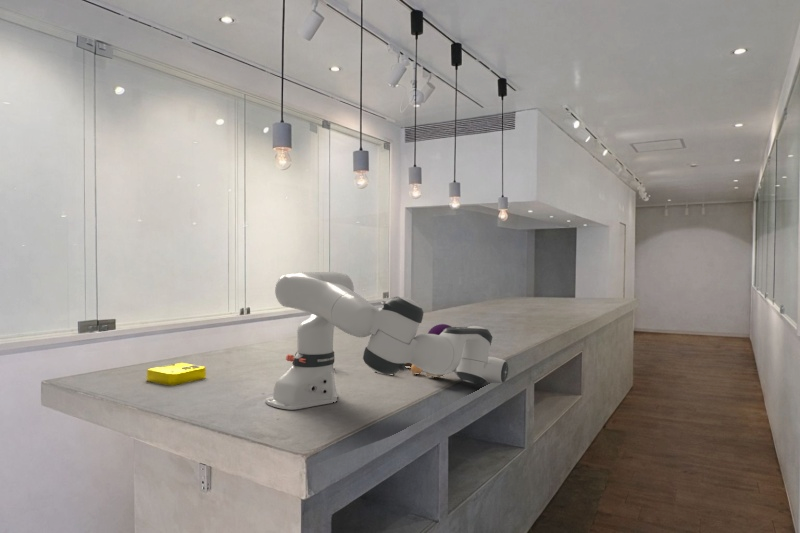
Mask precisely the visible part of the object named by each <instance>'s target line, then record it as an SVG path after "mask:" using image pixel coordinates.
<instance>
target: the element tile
mask: <svg viewBox="0 0 800 533" xmlns="http://www.w3.org/2000/svg"><path fill="white" fill-rule="evenodd" d="M206 374H207V367H206V366H202V365H197V364H190V363H186V362H179V363H178V362H177V363H173V364H172V363H171V364H165V365H161V366H156V367H151V368H148V369H147V370H146V381H147V382H150V381H151V383H155V382H156V383H155V384H159V383H160V385H164V384H165V385H166V386H177V385H183V384H187V383H192V382H197V381H200V380H204V378H205V379H206V378H207V377H206ZM182 383H183V384H182Z"/></svg>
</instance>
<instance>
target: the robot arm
mask: <svg viewBox="0 0 800 533" xmlns="http://www.w3.org/2000/svg"><path fill="white" fill-rule="evenodd" d="M354 287H355V286H354V282H353V280H352V278H351V277H350V276H349V275H348V274H344V273H341V272H336V271H312V272H311V271H310V272H308V271H307V272H306V271H305V272H303V271H302V272H301V271H300V272H299V271H298V272H297V271H296V272H291V273H287V274H283V275H282V276H280V278H279V279H278V281H277V282H276V284H275V291H274V294H275V298H276V299H277V302H278V303H279V304H280V305H281V306H282V307H284V308H290V309H295V310H299V311H302V312H305V313H308V314H310V315H309V317H308V318H306V319H304V320H303V321H302V322H301V323H300V324H299V326H298V328H297V330H296V333H297V334H296V337H297V338H296V339H297V340H296V342H297V345H296V349H297V350H296V352H295V355H293V354H289V353H288V354H286V356H285V360H286V361H287V362H290V363H291V362H292V364H291V366H290V367H288V369H287V370H286V371H285V372H284V373H283V374H282V375H281V376H279V378H278V379H277V380H276V381H275V383H274V386H273V394H272V396H269V397H266V398H265V402H264V403H265V404H266V405H269V406H271V407H274V408H278V409H282V410H289V411H290V410H291V411H295V410H300V409H306V408H310V407H316V406H322V405H326V404H327V405H328V404H334V403H336V401H337V402H338V397H339V394H338V391H337V387H336V381H335V371H334V363H335V351H334V333H335V327H336V328H338V329H339V330H340V331H342V332H344V333H346V334H348V335H350V336H353V337H356V338H366V337H369V336H370V338H369V340H368V343H367V346H366V347H365V348H364V351H363V356H362V359H363V362H364V363H365V365H366V366H367V367H368V368H369V369H370V370H372V371H373V372H374V373H376V372H377V374H382V375H386V374H393V373H394V374H396V373H398V372H400V371H401V370H402V371H405V370H406V369H407V368H406V367H405V366H404V365H405V364H406V363H411V364H413V365H415V366H416V367H418V368H420V369H421V370H423V371H422V372H425V373H426V372H428V373H432V374H437V375H445V376H446V375H449V374H451V373H453V372H454V373H455V376H456V377H458V378H459V380H460V381H462V382H464V383H467V384H475V385H479V386H482V385H483V384H485V383H487V384H488V383H489V384H503V383H505V382H506V380H507V378H508V374H509V364H508V362H507V361H506V360H505V359H502V358H498V357H495V356H489V354H490V349H491V345H492V341H493V336H492V333H491V332H490V330H489V329H488V328H486V327H483V326H480V325H470V326H451V327H449V328H445V329H444V330H443V331H442V333H441V334H440V335H436V334H428V333H421V334H417V332H418V330H419V326H420V324H422V322H423V319H424V318H423V317H424V310H423V308H421V306H420V305H419V304H418V303H417V302H416V301H415V300H413V299H411V297H406V296H405V297H404V296H393V297H390V298H389V299H387V300H386V301H384V300H382V301H380V304H381V305H382V306H381V307H377V306H375V305H373V304H372V303H371V302H369V301H368V300H367V299H365V298H364V297H363V296H361V295H360V294H358V293H356V292H355V291H354V290H355V288H354ZM333 402H334V403H333Z"/></svg>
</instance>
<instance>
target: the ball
mask: <svg viewBox="0 0 800 533" xmlns="http://www.w3.org/2000/svg"><path fill="white" fill-rule="evenodd" d="M410 371H411V373H412V374H413V373H421V372H424V371H423V370H421V369H420V368H418V367H416V366H415V365H413V364H412V366H411V369H410ZM421 374H422V373H421Z"/></svg>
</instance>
